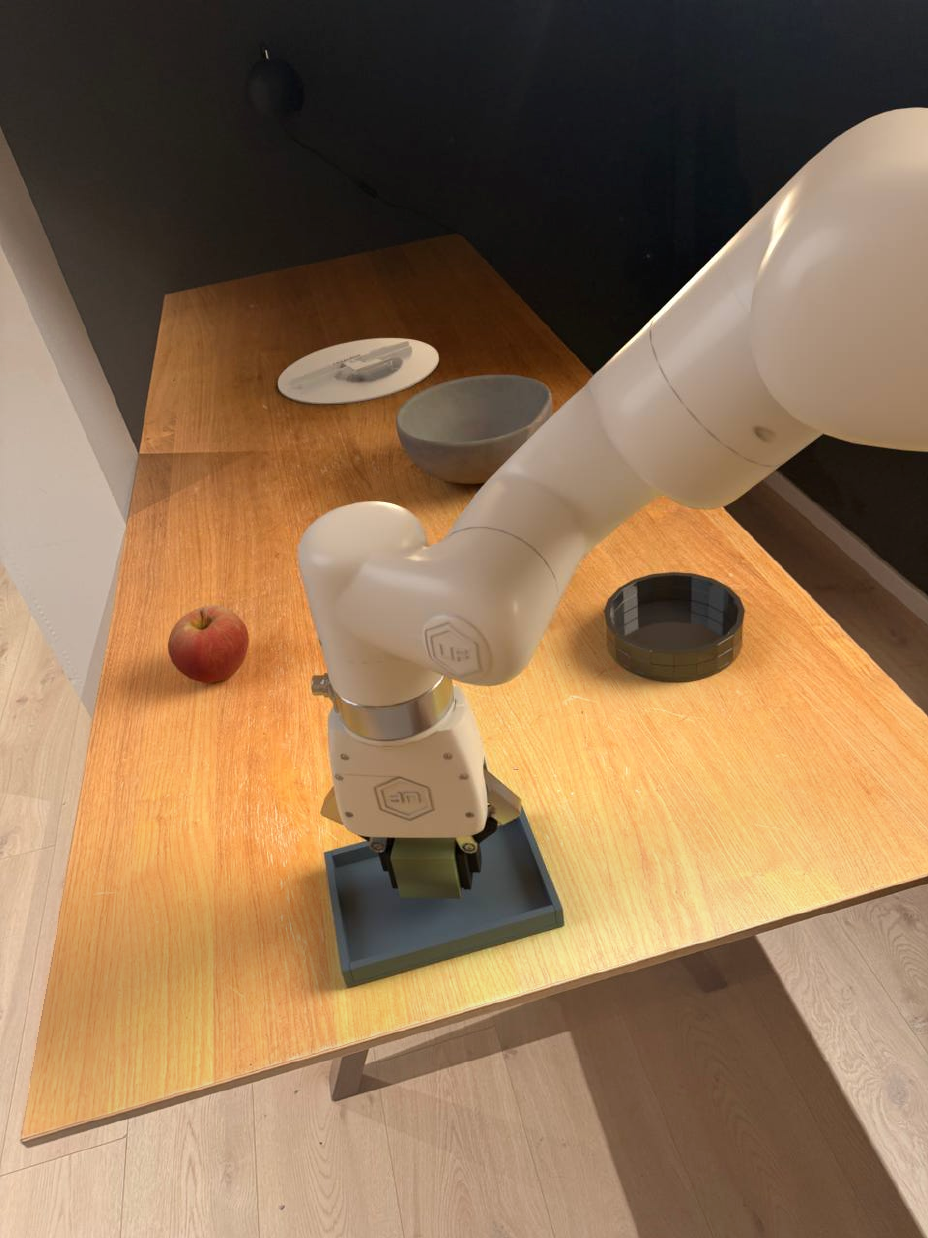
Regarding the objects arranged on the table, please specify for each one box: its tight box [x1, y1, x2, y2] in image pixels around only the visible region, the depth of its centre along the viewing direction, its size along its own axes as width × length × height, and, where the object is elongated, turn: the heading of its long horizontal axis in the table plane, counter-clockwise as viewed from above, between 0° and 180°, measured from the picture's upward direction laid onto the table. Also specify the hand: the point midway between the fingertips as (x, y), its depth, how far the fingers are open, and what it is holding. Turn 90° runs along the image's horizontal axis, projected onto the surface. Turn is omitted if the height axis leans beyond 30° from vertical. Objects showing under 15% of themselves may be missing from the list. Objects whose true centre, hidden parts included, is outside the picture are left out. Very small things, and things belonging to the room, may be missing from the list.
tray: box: [323, 803, 565, 989], centre depth 72 cm, size 16×11×2 cm
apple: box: [167, 604, 250, 684], centre depth 97 cm, size 8×8×8 cm
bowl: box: [395, 374, 553, 485], centre depth 125 cm, size 20×20×10 cm
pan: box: [603, 571, 746, 683], centre depth 93 cm, size 13×13×4 cm
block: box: [391, 837, 462, 899], centre depth 70 cm, size 4×4×4 cm
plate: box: [277, 337, 440, 405], centre depth 163 cm, size 28×28×1 cm
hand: (434, 872), depth 71 cm, fingers closed on block, 4 cm apart
